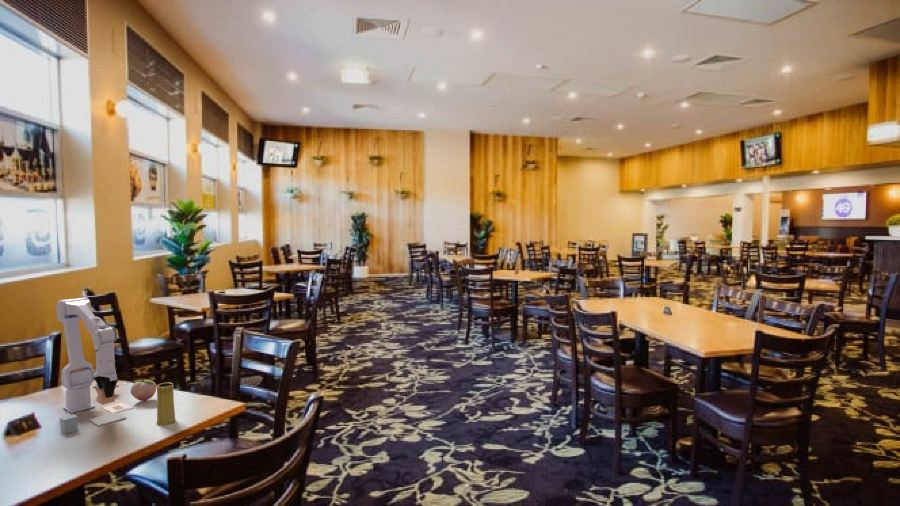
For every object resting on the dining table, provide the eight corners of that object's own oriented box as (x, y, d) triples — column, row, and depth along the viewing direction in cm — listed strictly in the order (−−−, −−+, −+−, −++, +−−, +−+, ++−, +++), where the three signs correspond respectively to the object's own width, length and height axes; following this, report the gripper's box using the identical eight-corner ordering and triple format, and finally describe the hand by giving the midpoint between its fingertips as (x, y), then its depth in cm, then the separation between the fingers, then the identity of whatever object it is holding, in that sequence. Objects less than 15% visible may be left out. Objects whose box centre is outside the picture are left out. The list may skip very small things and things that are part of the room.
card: (102, 408, 200) (102, 407, 200) (122, 402, 205) (122, 402, 205) (112, 413, 194) (112, 413, 194) (132, 408, 199) (132, 407, 199)
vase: (179, 420, 188) (178, 383, 187) (165, 426, 182) (164, 388, 181) (167, 418, 190) (165, 381, 189) (152, 424, 184) (151, 386, 183)
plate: (89, 420, 187) (89, 419, 187) (116, 413, 194) (116, 412, 194) (98, 426, 182) (98, 425, 182) (126, 418, 189) (126, 417, 189)
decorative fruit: (161, 397, 212) (160, 374, 211) (150, 404, 203) (149, 380, 203) (139, 397, 212) (138, 374, 211) (127, 404, 203) (126, 380, 203)
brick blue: (60, 431, 178) (60, 417, 178) (74, 427, 181) (73, 413, 181) (64, 433, 175) (64, 420, 175) (78, 430, 179) (77, 416, 178)
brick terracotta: (110, 399, 190) (109, 386, 190) (114, 401, 188) (114, 388, 187) (98, 402, 187) (97, 389, 187) (102, 404, 185) (101, 391, 184)
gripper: (85, 359, 188) (86, 394, 188) (100, 366, 179) (102, 403, 180) (106, 355, 193) (108, 389, 194) (122, 361, 185) (124, 397, 186)
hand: (106, 395), depth 187 cm, fingers closed on brick terracotta, 4 cm apart
